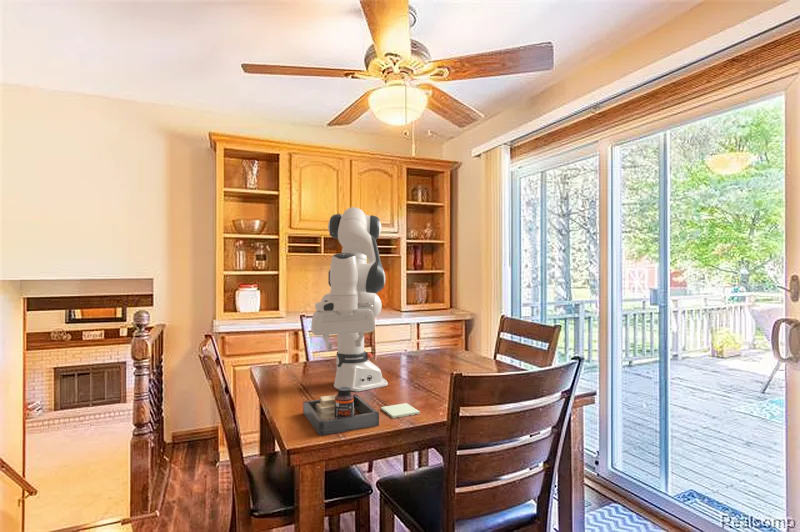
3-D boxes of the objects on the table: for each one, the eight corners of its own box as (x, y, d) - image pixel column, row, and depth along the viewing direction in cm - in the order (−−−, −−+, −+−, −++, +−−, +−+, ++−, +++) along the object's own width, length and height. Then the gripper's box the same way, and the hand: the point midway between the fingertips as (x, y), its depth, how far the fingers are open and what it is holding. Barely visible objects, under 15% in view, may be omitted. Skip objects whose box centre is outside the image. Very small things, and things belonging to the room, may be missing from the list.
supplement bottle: (337, 428, 132) (337, 392, 132) (332, 422, 137) (332, 387, 137) (355, 425, 134) (355, 389, 134) (350, 419, 139) (350, 384, 139)
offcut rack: (356, 405, 153) (356, 394, 153) (379, 425, 134) (379, 412, 134) (303, 413, 145) (303, 401, 145) (319, 435, 126) (319, 422, 126)
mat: (406, 405, 154) (406, 403, 154) (419, 414, 145) (419, 411, 145) (381, 409, 149) (381, 407, 149) (393, 418, 140) (393, 416, 140)
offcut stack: (349, 409, 150) (349, 392, 150) (355, 415, 144) (355, 397, 144) (315, 414, 144) (315, 397, 144) (320, 420, 139) (320, 402, 139)
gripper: (370, 302, 143) (370, 343, 143) (309, 304, 134) (309, 348, 134) (377, 303, 137) (377, 346, 137) (315, 306, 128) (314, 352, 128)
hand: (343, 347), depth 135 cm, fingers open, 8 cm apart
